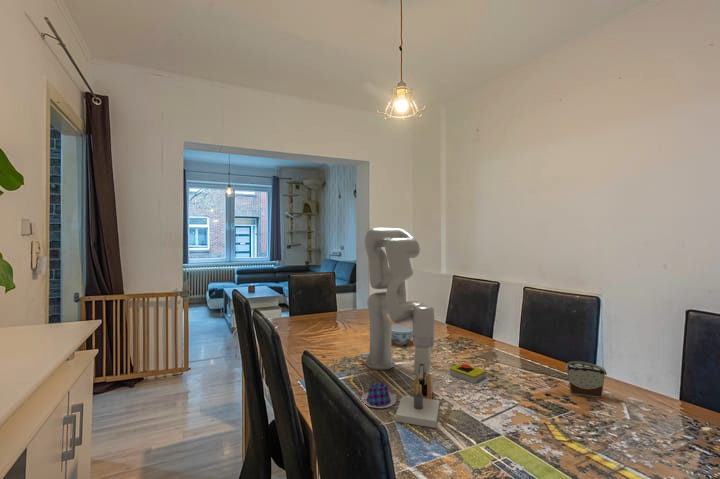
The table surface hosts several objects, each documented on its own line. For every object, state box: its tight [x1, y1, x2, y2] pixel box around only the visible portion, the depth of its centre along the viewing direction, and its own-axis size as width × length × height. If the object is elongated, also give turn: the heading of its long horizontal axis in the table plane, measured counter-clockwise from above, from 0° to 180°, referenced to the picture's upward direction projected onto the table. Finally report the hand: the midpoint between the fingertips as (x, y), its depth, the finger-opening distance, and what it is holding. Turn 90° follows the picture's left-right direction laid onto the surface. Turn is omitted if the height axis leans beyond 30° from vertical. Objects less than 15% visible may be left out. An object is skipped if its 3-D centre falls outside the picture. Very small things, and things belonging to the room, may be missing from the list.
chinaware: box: [391, 324, 413, 345], centre depth 175 cm, size 15×15×8 cm
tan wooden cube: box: [413, 373, 434, 399], centre depth 116 cm, size 6×6×6 cm
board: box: [395, 384, 440, 429], centre depth 103 cm, size 12×13×9 cm
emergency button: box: [446, 362, 492, 386], centre depth 132 cm, size 9×4×15 cm
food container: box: [565, 360, 608, 399], centre depth 118 cm, size 12×6×10 cm, turn 71°
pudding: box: [360, 382, 397, 409], centre depth 112 cm, size 12×12×5 cm
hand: (423, 390), depth 116 cm, fingers closed on tan wooden cube, 5 cm apart
